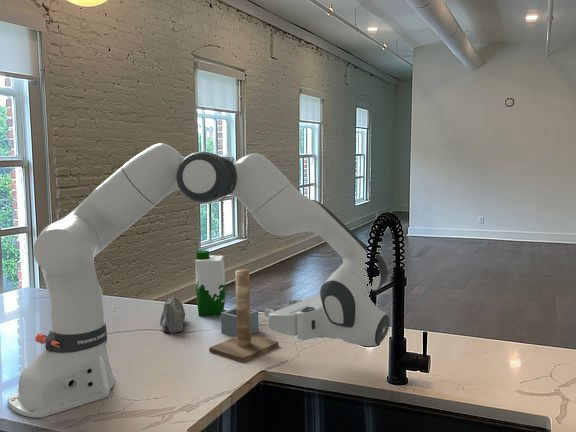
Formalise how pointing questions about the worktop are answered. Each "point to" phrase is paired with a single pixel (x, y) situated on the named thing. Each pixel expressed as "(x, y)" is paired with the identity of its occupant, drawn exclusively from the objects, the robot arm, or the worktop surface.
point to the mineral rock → (172, 316)
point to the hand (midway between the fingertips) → (278, 307)
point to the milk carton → (210, 284)
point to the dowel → (243, 308)
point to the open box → (231, 322)
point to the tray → (243, 348)
